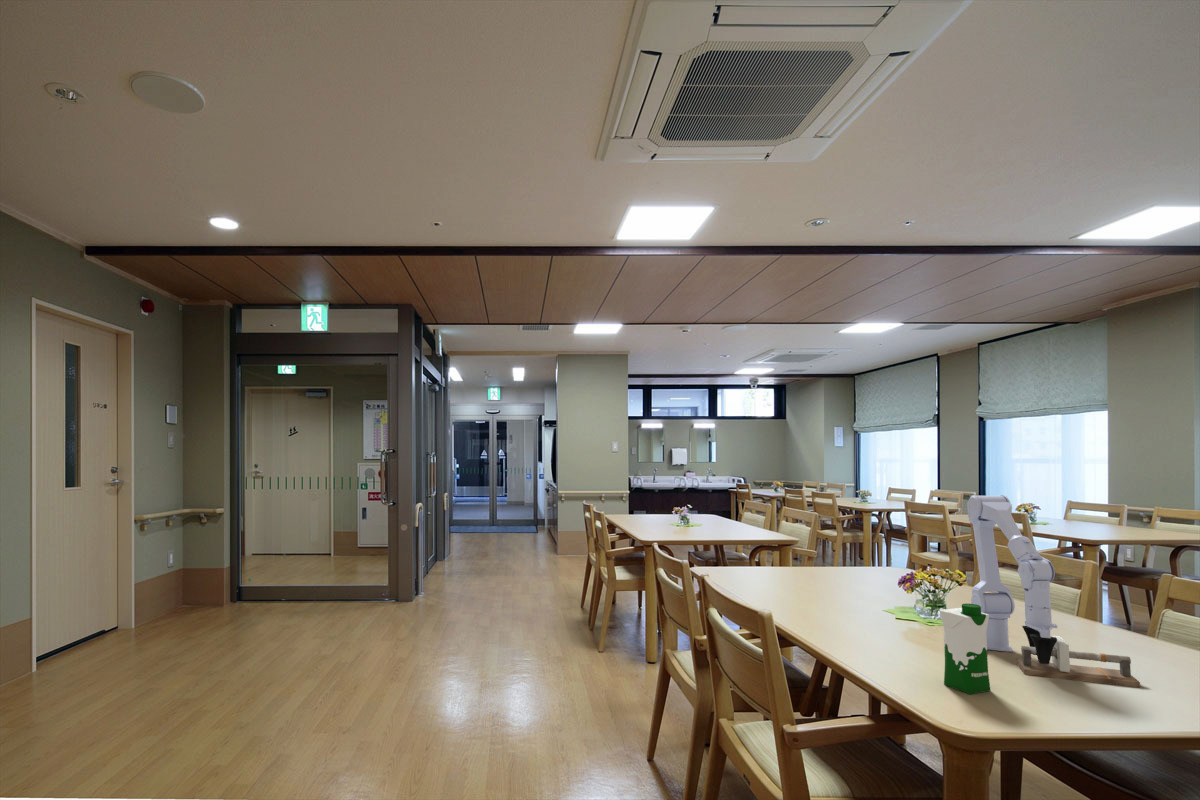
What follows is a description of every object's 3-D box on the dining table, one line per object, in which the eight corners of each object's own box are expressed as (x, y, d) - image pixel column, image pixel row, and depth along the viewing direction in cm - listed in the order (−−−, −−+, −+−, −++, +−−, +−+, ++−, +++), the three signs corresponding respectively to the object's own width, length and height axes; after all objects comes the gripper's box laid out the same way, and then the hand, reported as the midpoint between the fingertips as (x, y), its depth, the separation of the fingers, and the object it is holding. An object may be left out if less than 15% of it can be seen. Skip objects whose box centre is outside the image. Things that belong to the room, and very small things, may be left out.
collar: (1060, 671, 164) (1059, 643, 165) (1052, 661, 172) (1051, 635, 172) (1070, 672, 163) (1068, 644, 164) (1061, 662, 171) (1060, 636, 171)
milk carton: (970, 696, 151) (966, 609, 153) (937, 683, 160) (934, 600, 161) (996, 691, 155) (993, 606, 156) (963, 679, 163) (960, 598, 164)
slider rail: (1024, 674, 167) (1023, 650, 167) (1016, 663, 175) (1015, 640, 175) (1140, 687, 157) (1138, 662, 158) (1126, 675, 166) (1125, 651, 166)
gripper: (1063, 613, 162) (1066, 669, 161) (1048, 601, 175) (1051, 653, 174) (1030, 611, 165) (1033, 666, 164) (1018, 599, 178) (1020, 649, 177)
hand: (1040, 659), depth 169 cm, fingers open, 7 cm apart
